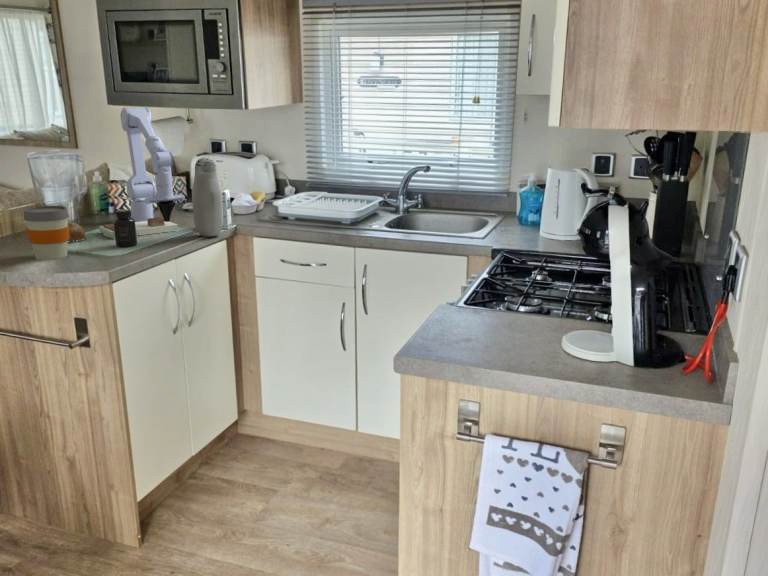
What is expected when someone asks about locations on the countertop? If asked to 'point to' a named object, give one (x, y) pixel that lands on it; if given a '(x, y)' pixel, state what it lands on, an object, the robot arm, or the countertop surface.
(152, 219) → the tile
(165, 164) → the robot arm
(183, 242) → the countertop surface
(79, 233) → the bread roll
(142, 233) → the board
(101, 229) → the tray
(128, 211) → the supplement bottle
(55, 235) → the reusable coffee cup
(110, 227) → the tile
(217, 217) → the grey bottle
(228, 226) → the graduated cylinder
